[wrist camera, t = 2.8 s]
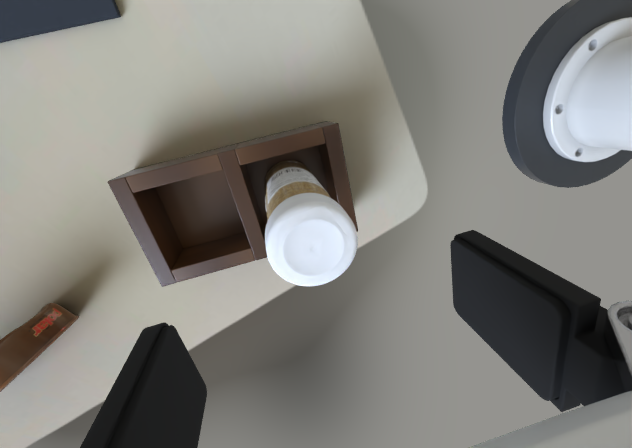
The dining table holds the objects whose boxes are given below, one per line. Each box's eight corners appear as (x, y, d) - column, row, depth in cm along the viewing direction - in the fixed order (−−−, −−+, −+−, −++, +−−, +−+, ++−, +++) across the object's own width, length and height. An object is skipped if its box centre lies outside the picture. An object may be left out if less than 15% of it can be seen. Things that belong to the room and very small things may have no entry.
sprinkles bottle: (265, 209, 27) (267, 293, 14) (263, 158, 25) (262, 204, 13) (314, 207, 27) (357, 286, 15) (315, 158, 26) (363, 201, 13)
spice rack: (326, 121, 25) (338, 123, 21) (344, 214, 29) (358, 231, 25) (133, 169, 24) (106, 181, 20) (176, 261, 27) (161, 287, 23)
